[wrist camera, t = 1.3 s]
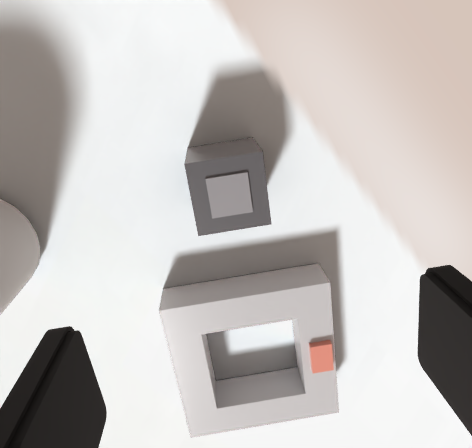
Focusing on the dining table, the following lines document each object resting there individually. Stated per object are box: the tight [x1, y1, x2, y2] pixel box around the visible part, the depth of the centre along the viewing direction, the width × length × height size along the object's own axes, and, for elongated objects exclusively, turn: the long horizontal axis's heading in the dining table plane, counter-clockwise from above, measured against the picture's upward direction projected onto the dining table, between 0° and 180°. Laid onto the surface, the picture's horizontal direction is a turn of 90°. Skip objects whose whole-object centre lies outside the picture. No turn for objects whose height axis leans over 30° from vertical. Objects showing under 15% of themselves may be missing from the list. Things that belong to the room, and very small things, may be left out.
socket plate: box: [159, 263, 339, 438], centre depth 31 cm, size 12×12×4 cm
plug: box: [185, 137, 271, 236], centre depth 26 cm, size 4×4×5 cm
